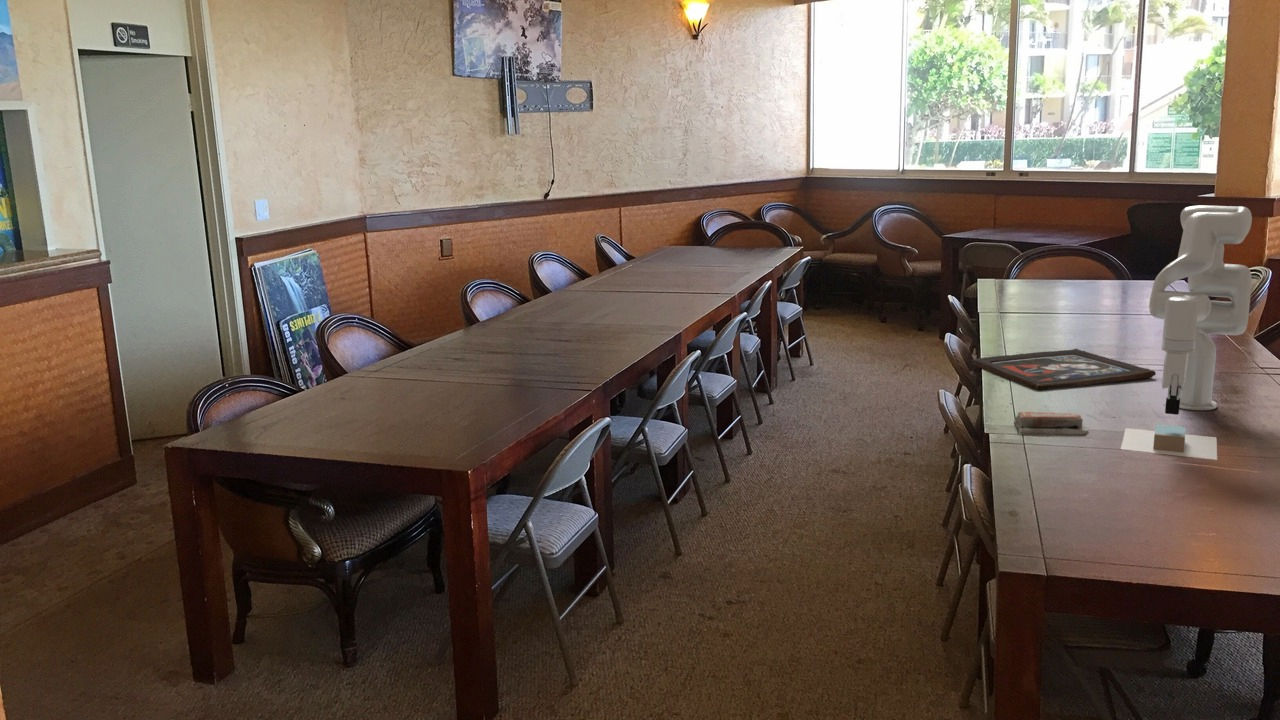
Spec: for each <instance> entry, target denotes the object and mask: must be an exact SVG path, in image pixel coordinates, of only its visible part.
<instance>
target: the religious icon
mask: <svg viewBox="0 0 1280 720" xmlns="http://www.w3.org/2000/svg"><path fill="white" fill-rule="evenodd" d="M971 364H972V365H973V366H975V367H978V368H980V369H983V370H985V371H988V372H990V373H992V374H995V375H998V376H1001V377H1003V378H1006V379H1008V380H1010V381H1013V382H1015V383H1017V384H1020V385H1022V386H1023V387H1024V386H1025V387H1026V388H1027V387H1028V388H1029V389H1031V390H1035V391H1046V390H1056V389H1057V390H1058V389H1066V388H1072V387H1073V388H1074V387H1075V388H1076V387H1084V386H1089V385H1098V384H1106V383H1107V384H1109V383H1115V382H1126V381H1132V380H1141V379H1150V378H1153V377H1155V376H1156V371H1155V370H1154V369H1153V370H1151V369H1150V368H1146V367H1141V366H1137V365H1134V364H1131V363H1128V362H1125V361H1120V360H1116V359H1113V358H1110V357H1109V358H1108V357H1105V356H1101V355H1098V354H1094V353H1092V352H1087V351H1085V350H1081V349H1078V348H1074V349H1067V350H1066V349H1064V350H1062V349H1061V350H1053V351H1039V352H1029V353H1028V352H1027V353H1018V354H1011V355H998V356H997V355H996V356H987V357H986V356H985V357H979V358H974V359H971Z"/></svg>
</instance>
